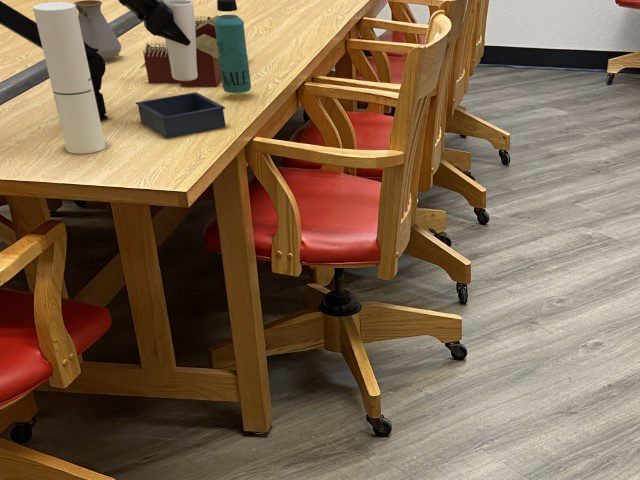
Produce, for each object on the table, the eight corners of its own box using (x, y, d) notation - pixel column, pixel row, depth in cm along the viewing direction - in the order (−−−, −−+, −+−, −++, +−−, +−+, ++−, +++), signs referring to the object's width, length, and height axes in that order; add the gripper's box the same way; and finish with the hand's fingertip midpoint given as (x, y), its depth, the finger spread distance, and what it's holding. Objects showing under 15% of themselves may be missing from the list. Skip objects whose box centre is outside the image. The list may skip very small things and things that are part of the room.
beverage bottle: (240, 90, 220) (227, -6, 208) (259, 96, 217) (248, -2, 205) (217, 96, 216) (203, -2, 204) (236, 102, 213) (223, 3, 201)
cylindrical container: (109, 141, 190) (80, 2, 175) (99, 153, 184) (68, 10, 169) (73, 141, 190) (40, 1, 175) (61, 153, 184) (27, 10, 169)
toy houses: (228, 87, 222) (222, 39, 216) (138, 86, 222) (130, 38, 216) (259, 41, 258) (254, -1, 252) (181, 40, 258) (175, -2, 252)
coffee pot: (78, 54, 244) (63, -12, 235) (125, 52, 246) (113, -13, 237) (67, 76, 227) (51, 6, 218) (117, 74, 229) (104, 5, 220)
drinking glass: (197, 74, 212) (189, -1, 203) (204, 81, 207) (196, 4, 198) (166, 76, 209) (156, -1, 201) (171, 83, 204) (162, 5, 196)
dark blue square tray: (166, 139, 192) (162, 118, 189) (139, 122, 200) (135, 102, 198) (227, 127, 199) (225, 107, 196) (199, 111, 207) (196, 92, 204)
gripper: (153, -41, 186) (219, 18, 196) (140, -55, 199) (201, 1, 209) (118, 6, 188) (185, 62, 198) (107, -11, 201) (170, 42, 212)
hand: (186, 40), depth 204 cm, fingers closed on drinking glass, 6 cm apart
